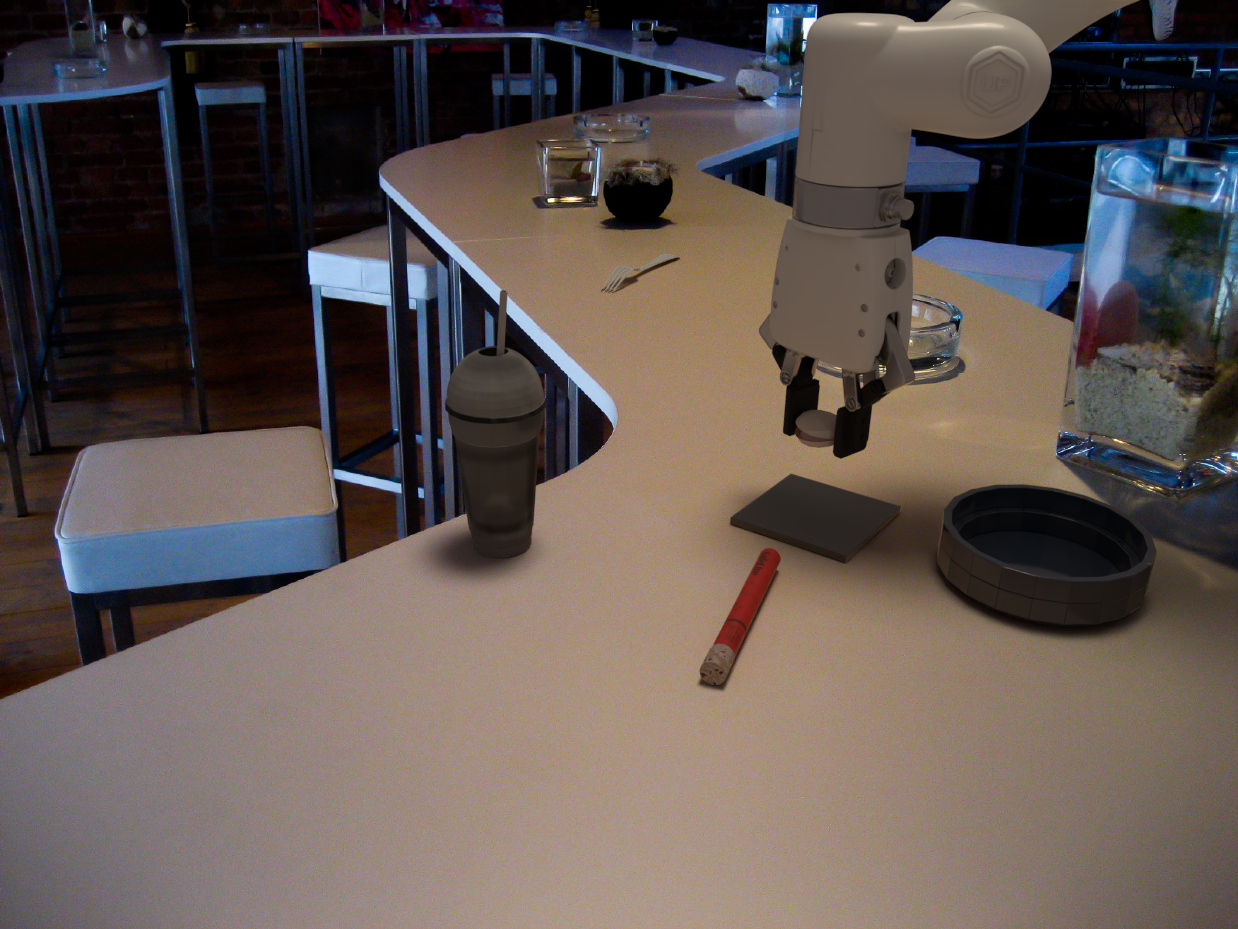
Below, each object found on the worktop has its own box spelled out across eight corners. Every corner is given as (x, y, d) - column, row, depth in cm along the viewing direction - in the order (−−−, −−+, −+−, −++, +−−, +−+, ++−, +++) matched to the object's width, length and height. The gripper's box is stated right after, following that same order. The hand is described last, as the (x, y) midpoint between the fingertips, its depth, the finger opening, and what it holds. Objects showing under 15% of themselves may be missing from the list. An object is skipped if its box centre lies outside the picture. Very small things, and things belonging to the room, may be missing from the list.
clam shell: (793, 431, 86) (795, 401, 85) (857, 434, 85) (860, 405, 84) (794, 453, 82) (796, 423, 81) (861, 457, 81) (864, 426, 80)
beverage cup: (497, 511, 87) (486, 267, 79) (568, 538, 84) (565, 285, 75) (433, 547, 82) (414, 290, 73) (506, 578, 78) (494, 310, 70)
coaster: (790, 479, 93) (790, 473, 93) (900, 512, 88) (900, 506, 87) (729, 523, 86) (730, 517, 86) (845, 563, 80) (846, 556, 80)
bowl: (1008, 512, 88) (1016, 468, 86) (1181, 586, 78) (1194, 537, 76) (896, 568, 80) (903, 520, 78) (1073, 658, 70) (1085, 605, 68)
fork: (682, 273, 160) (683, 254, 159) (616, 293, 143) (617, 272, 142) (664, 271, 161) (666, 252, 160) (597, 290, 144) (598, 269, 143)
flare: (698, 682, 67) (700, 659, 67) (758, 566, 80) (759, 546, 79) (724, 688, 67) (726, 665, 66) (780, 570, 79) (782, 550, 79)
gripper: (982, 219, 72) (944, 466, 80) (795, 179, 84) (778, 398, 92) (911, 235, 68) (878, 494, 76) (724, 190, 80) (713, 419, 88)
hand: (824, 439), depth 84 cm, fingers closed on clam shell, 4 cm apart
